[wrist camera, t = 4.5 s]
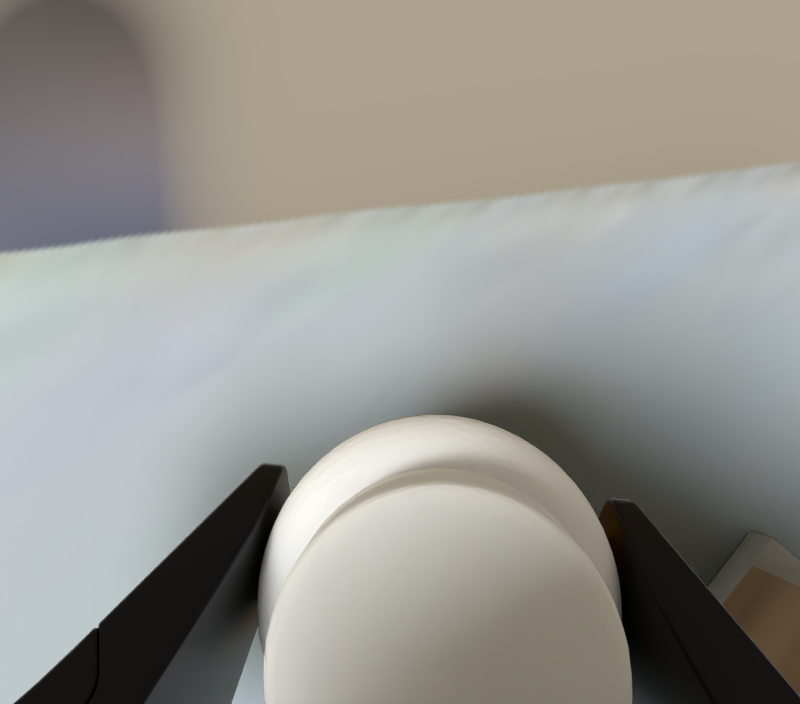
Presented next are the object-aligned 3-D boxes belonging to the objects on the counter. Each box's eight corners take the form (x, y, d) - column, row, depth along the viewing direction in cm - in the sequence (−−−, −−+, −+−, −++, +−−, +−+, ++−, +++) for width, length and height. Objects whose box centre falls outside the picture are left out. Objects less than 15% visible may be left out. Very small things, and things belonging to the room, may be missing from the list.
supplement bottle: (503, 631, 15) (677, 1066, 5) (319, 586, 15) (117, 901, 5) (537, 440, 16) (748, 468, 6) (360, 402, 16) (254, 363, 6)
